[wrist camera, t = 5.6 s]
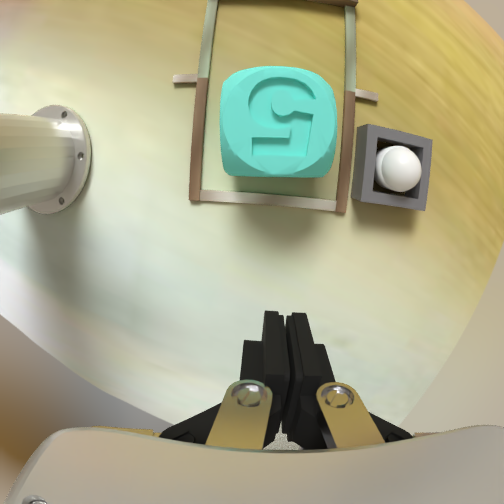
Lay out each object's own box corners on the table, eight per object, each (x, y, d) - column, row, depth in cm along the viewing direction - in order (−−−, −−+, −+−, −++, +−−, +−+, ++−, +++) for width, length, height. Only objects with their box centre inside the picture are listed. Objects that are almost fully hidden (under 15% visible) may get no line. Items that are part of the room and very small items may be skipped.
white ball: (368, 185, 26) (386, 190, 22) (372, 143, 25) (391, 140, 21) (405, 191, 26) (427, 197, 22) (409, 151, 25) (432, 150, 21)
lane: (166, 198, 28) (160, 201, 26) (189, -11, 21) (185, -19, 19) (366, 214, 28) (372, 217, 26) (373, 7, 21) (379, 0, 19)
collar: (350, 197, 27) (360, 201, 24) (357, 127, 25) (367, 123, 22) (410, 206, 27) (424, 211, 24) (417, 140, 25) (432, 139, 22)
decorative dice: (230, 173, 27) (219, 177, 19) (230, 91, 25) (220, 65, 17) (315, 174, 27) (337, 179, 19) (315, 93, 24) (336, 69, 17)
